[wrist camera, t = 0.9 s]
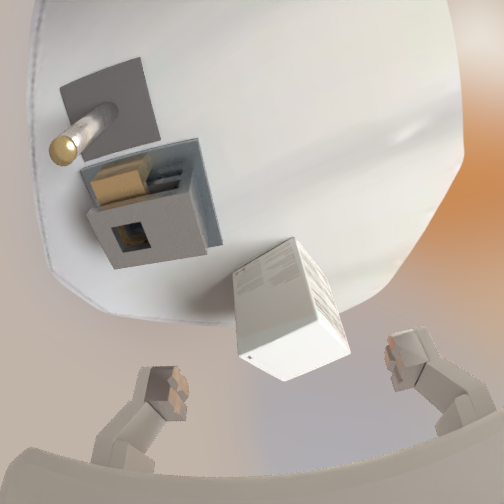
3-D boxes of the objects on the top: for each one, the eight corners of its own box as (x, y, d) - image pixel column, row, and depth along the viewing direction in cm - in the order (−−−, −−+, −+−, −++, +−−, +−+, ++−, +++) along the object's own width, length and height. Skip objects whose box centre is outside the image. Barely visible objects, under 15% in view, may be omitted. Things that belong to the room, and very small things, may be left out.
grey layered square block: (82, 168, 39) (62, 193, 33) (198, 138, 38) (193, 159, 33) (123, 257, 51) (113, 289, 45) (222, 241, 50) (223, 273, 45)
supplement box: (270, 307, 63) (282, 383, 49) (230, 272, 55) (235, 357, 42) (327, 277, 58) (353, 353, 45) (294, 234, 51) (319, 319, 38)
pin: (95, 105, 33) (45, 143, 22) (115, 98, 33) (68, 133, 22) (101, 125, 35) (55, 169, 24) (120, 118, 35) (79, 161, 24)
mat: (61, 87, 30) (60, 87, 30) (140, 57, 30) (139, 57, 30) (86, 160, 38) (85, 161, 38) (160, 139, 38) (160, 140, 38)
